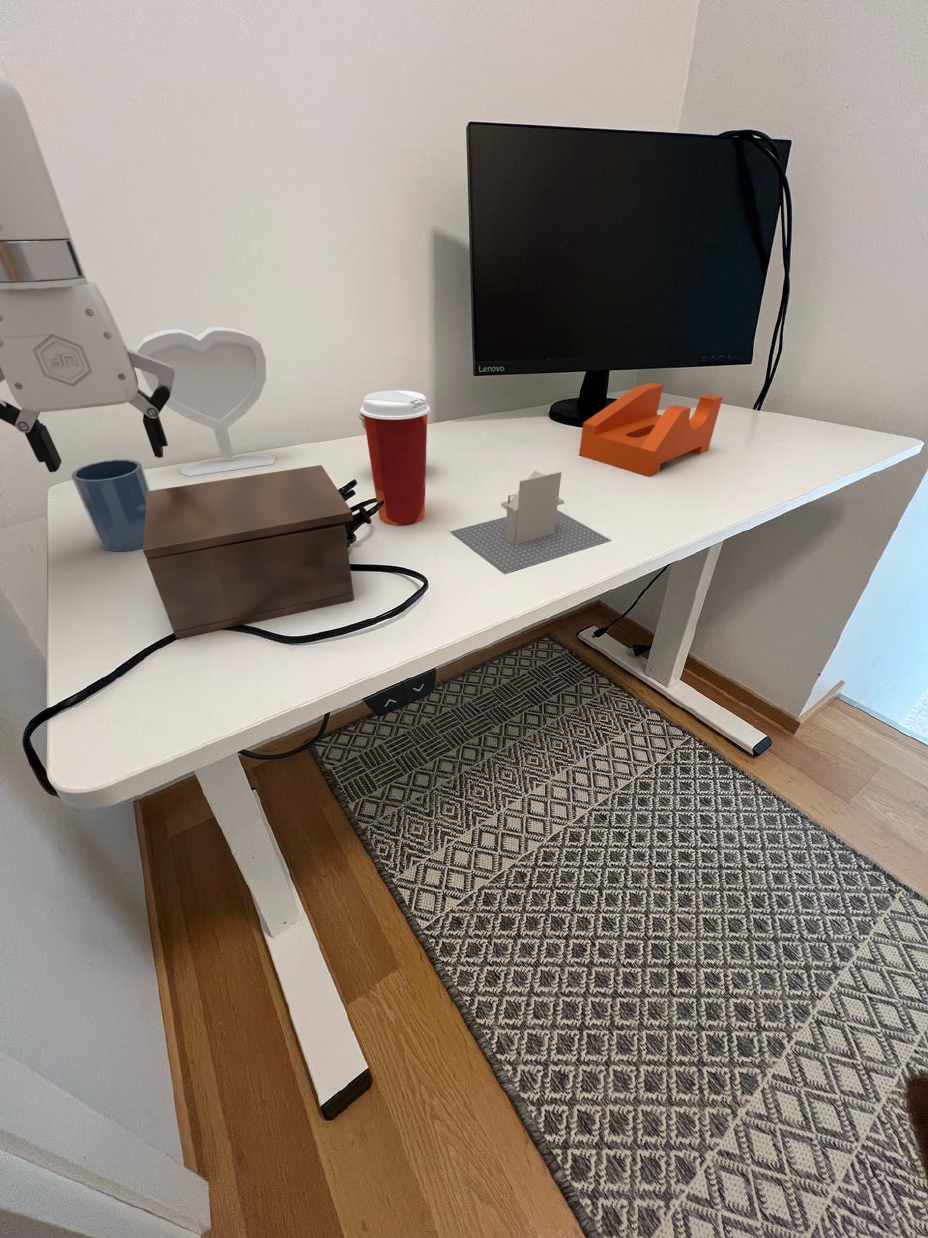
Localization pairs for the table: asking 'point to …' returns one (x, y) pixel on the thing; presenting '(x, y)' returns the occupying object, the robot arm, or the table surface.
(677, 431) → the orange notched block
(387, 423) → the paper cup
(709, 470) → the table surface
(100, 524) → the cup
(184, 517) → the box lid
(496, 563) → the architectural model
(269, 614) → the box
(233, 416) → the heart sculpture
